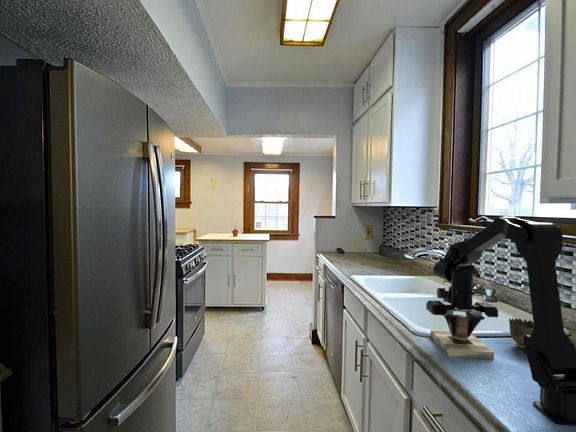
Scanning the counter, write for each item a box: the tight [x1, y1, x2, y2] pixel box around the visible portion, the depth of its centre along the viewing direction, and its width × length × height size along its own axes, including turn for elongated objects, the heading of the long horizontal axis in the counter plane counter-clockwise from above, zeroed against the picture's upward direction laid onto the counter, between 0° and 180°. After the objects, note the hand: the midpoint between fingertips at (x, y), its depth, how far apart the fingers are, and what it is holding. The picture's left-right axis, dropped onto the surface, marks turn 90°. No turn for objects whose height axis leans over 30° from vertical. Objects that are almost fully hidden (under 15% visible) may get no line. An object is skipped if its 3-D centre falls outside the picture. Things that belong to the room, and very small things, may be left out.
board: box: [430, 329, 495, 360], centre depth 94 cm, size 14×12×2 cm
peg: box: [452, 314, 468, 344], centre depth 94 cm, size 4×4×8 cm
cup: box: [508, 317, 534, 351], centre depth 94 cm, size 8×7×8 cm
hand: (460, 336), depth 94 cm, fingers closed on peg, 4 cm apart
